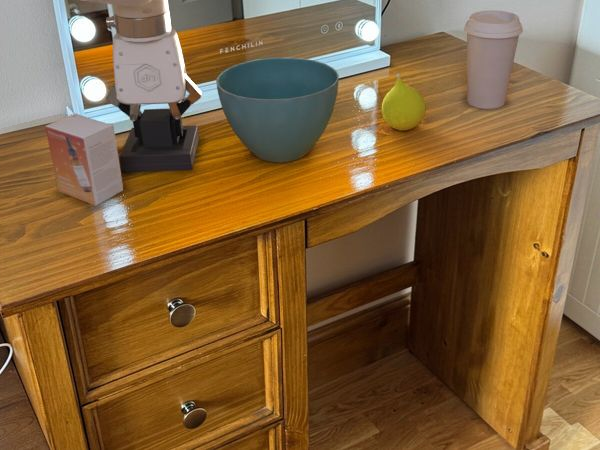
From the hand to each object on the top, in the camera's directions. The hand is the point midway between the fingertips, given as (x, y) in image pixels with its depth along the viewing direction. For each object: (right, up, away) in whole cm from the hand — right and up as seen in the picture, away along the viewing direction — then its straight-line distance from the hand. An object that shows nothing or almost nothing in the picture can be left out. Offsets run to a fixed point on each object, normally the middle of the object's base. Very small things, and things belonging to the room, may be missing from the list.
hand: (160, 139), depth 119 cm
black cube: (0, 0, 0) cm, 0 cm away
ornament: (+39, +2, +8) cm, 39 cm away
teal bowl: (+19, -2, +2) cm, 19 cm away
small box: (-8, -9, -8) cm, 14 cm away
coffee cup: (+54, +8, +16) cm, 57 cm away
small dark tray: (0, -2, +1) cm, 3 cm away
